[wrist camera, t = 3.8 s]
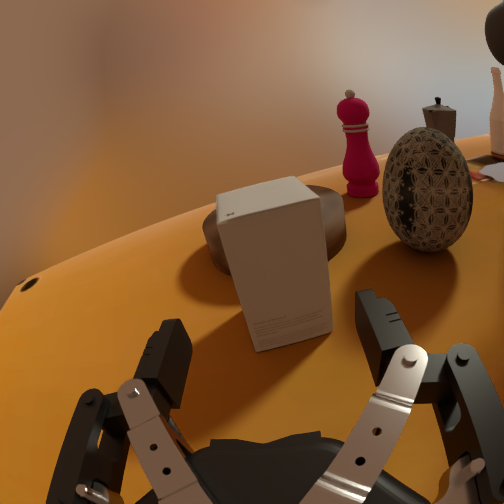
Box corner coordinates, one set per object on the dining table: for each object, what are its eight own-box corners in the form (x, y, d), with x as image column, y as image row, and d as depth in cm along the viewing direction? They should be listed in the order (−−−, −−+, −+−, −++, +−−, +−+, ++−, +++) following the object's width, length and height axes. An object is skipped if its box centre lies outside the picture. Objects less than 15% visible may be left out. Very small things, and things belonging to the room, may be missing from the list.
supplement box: (335, 332, 24) (323, 196, 18) (254, 354, 24) (212, 223, 18) (312, 287, 31) (295, 173, 25) (246, 304, 31) (213, 192, 25)
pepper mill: (358, 202, 48) (342, 89, 39) (338, 192, 54) (322, 92, 45) (388, 193, 49) (376, 87, 40) (367, 184, 55) (354, 89, 46)
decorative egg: (366, 252, 34) (356, 131, 27) (408, 219, 39) (402, 120, 32) (448, 284, 25) (459, 139, 18) (475, 240, 30) (481, 128, 23)
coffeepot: (451, 177, 50) (446, 98, 42) (417, 171, 58) (410, 96, 49) (467, 165, 56) (463, 98, 48) (438, 159, 64) (432, 96, 55)
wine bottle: (518, 157, 57) (512, 70, 43) (501, 156, 59) (493, 65, 45) (503, 150, 65) (496, 69, 51) (486, 150, 67) (477, 66, 53)
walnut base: (369, 222, 40) (367, 191, 38) (285, 299, 30) (277, 259, 28) (274, 206, 55) (268, 181, 52) (187, 256, 44) (177, 227, 42)
